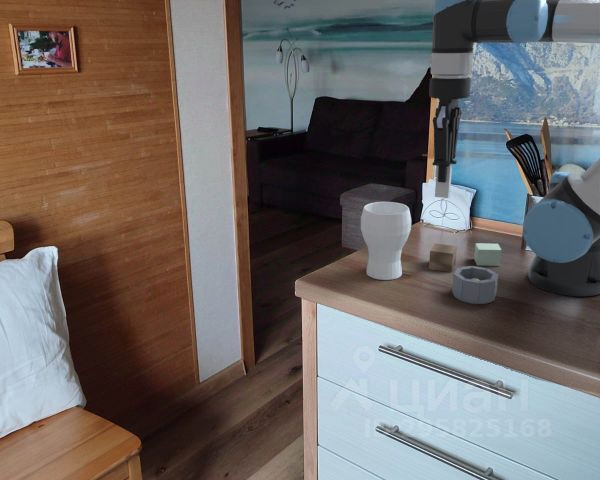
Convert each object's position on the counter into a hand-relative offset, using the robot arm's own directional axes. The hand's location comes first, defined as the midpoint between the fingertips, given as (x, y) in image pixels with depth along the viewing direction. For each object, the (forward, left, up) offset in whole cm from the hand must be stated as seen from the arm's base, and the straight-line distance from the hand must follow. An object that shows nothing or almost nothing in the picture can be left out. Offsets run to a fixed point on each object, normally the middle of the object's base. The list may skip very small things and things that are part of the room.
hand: (442, 196), depth 117 cm
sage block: (-8, -14, -18) cm, 24 cm away
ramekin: (-9, +5, -18) cm, 21 cm away
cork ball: (-9, +5, -16) cm, 19 cm away
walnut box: (+1, -7, -18) cm, 20 cm away
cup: (+11, +2, -19) cm, 22 cm away
